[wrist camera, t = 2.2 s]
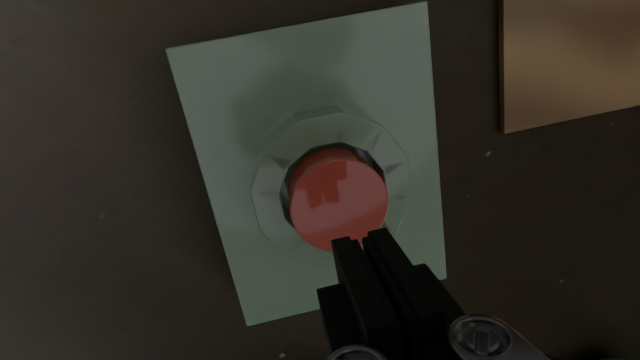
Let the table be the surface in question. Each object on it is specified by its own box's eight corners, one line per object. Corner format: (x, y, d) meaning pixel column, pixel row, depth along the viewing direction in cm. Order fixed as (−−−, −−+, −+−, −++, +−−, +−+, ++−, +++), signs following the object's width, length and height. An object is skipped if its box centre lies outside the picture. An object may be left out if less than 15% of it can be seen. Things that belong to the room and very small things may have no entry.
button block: (179, 47, 19) (153, 49, 14) (402, 6, 20) (446, -4, 15) (248, 290, 24) (245, 352, 19) (424, 249, 25) (463, 299, 20)
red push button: (278, 158, 17) (280, 171, 15) (371, 138, 17) (383, 149, 15) (296, 241, 18) (300, 261, 16) (381, 222, 18) (394, 240, 17)
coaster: (496, -92, 19) (502, -96, 18) (705, -127, 20) (716, -131, 19) (499, 132, 23) (504, 134, 22) (674, 95, 24) (682, 96, 23)
